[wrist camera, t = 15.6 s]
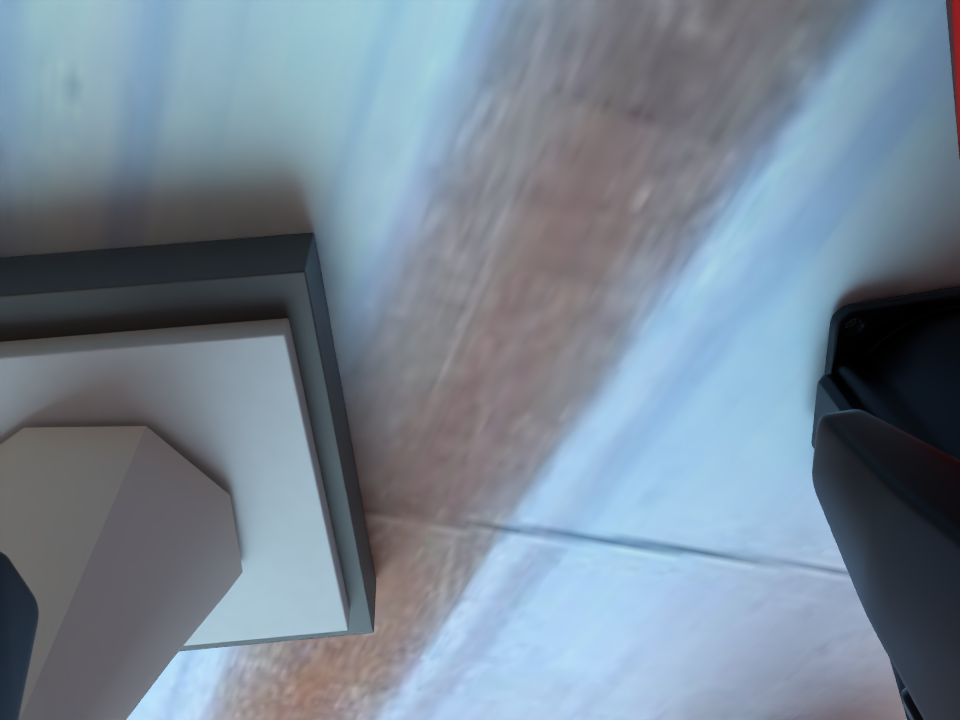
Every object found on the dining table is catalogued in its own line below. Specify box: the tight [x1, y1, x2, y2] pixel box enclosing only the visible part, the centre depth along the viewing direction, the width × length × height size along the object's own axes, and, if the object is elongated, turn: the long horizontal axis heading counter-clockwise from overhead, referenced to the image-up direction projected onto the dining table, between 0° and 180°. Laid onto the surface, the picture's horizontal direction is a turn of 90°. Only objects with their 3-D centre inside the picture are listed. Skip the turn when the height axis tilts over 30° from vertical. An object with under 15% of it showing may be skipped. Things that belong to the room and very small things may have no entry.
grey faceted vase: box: [0, 426, 243, 720], centre depth 18 cm, size 7×7×10 cm
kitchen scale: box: [0, 233, 376, 651], centre depth 23 cm, size 13×13×3 cm
